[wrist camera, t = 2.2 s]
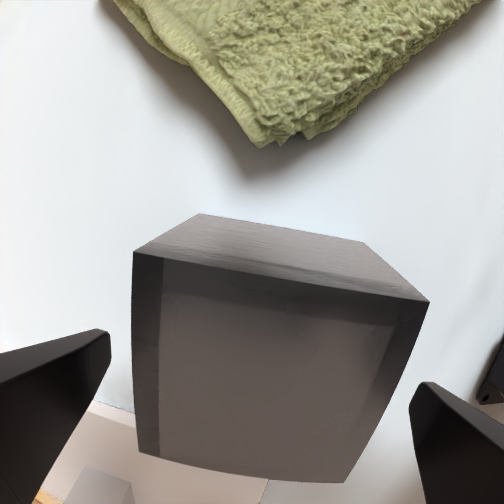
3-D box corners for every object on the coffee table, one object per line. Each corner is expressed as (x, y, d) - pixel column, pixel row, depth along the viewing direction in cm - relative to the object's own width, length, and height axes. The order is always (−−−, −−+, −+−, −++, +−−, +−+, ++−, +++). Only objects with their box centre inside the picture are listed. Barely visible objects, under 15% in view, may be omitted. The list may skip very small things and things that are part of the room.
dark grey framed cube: (363, 242, 12) (429, 301, 6) (324, 378, 14) (343, 483, 8) (198, 213, 12) (133, 251, 6) (184, 355, 14) (138, 452, 8)
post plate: (277, 443, 15) (274, 519, 10) (238, 544, 19) (232, 587, 14) (-15, 349, 15) (-59, 383, 11) (37, 478, 19) (15, 510, 15)
